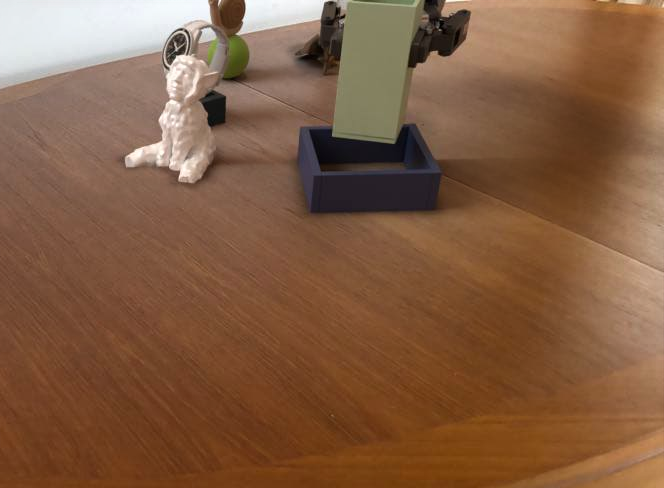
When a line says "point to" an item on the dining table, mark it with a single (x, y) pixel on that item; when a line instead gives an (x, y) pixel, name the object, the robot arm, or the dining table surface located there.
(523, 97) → the dining table surface
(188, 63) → the seated beast figurine
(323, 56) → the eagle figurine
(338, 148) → the box
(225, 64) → the watch
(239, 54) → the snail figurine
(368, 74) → the small bin
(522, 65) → the dining table surface
